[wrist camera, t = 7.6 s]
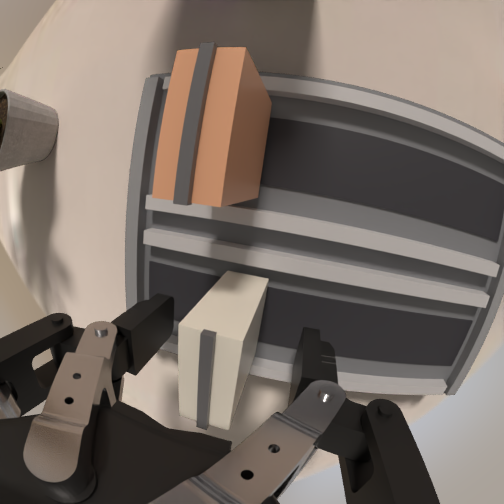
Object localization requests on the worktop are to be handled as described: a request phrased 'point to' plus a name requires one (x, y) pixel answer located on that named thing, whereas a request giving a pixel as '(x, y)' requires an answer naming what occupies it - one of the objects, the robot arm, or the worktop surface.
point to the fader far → (219, 348)
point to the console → (339, 235)
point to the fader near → (212, 128)
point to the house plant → (25, 130)
